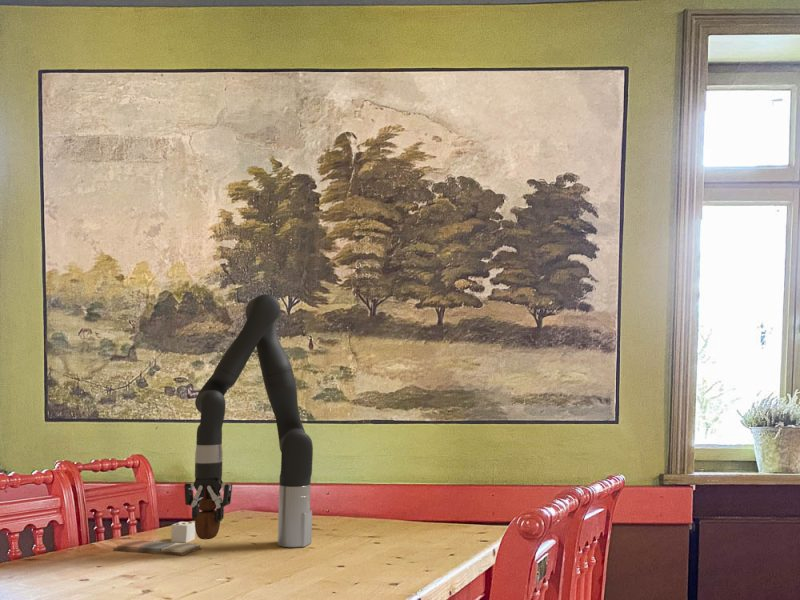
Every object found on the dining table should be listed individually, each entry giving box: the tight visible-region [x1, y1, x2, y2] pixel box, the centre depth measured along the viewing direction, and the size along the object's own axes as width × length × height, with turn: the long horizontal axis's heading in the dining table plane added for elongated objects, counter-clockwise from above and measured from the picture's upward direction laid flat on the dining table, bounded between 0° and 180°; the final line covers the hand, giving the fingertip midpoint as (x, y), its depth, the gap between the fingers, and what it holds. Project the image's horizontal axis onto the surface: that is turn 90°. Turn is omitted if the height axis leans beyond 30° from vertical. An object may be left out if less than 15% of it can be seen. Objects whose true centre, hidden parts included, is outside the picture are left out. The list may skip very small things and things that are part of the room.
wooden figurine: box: [194, 485, 221, 540], centre depth 193 cm, size 7×6×15 cm
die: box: [170, 521, 196, 543], centre depth 206 cm, size 5×5×5 cm
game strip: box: [113, 539, 201, 557], centre depth 195 cm, size 22×9×1 cm, turn 77°
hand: (207, 520), depth 192 cm, fingers closed on wooden figurine, 6 cm apart
